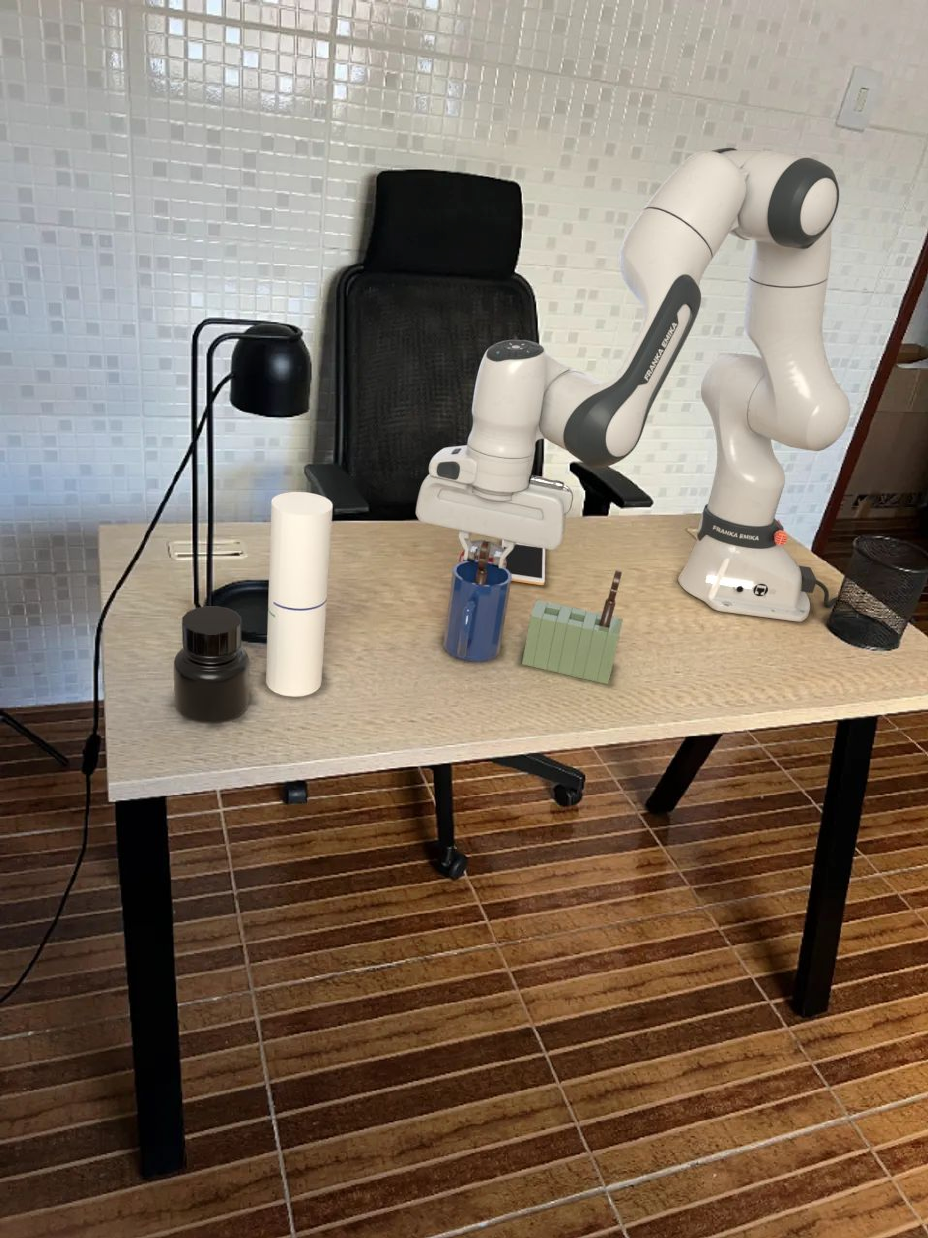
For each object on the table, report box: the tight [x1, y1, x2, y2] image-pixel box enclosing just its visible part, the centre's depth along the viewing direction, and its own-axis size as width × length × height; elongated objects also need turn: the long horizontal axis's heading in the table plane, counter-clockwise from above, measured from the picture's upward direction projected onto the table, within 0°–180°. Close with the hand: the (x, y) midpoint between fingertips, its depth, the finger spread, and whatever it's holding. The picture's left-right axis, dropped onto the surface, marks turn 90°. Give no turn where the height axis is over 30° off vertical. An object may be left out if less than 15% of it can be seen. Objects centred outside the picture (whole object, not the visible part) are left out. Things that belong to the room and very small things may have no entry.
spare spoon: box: [599, 569, 623, 628], centre depth 131 cm, size 1×3×16 cm, turn 166°
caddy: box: [521, 599, 623, 685], centre depth 134 cm, size 12×5×8 cm, turn 76°
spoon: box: [475, 539, 492, 585], centre depth 133 cm, size 1×3×16 cm, turn 166°
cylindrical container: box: [265, 491, 334, 698], centre depth 118 cm, size 7×7×25 cm
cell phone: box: [501, 539, 546, 586], centre depth 164 cm, size 8×16×1 cm, turn 175°
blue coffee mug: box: [442, 560, 512, 663], centre depth 133 cm, size 12×8×12 cm
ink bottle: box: [173, 605, 251, 724], centre depth 114 cm, size 10×9×12 cm
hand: (483, 563), depth 131 cm, fingers open, 3 cm apart
